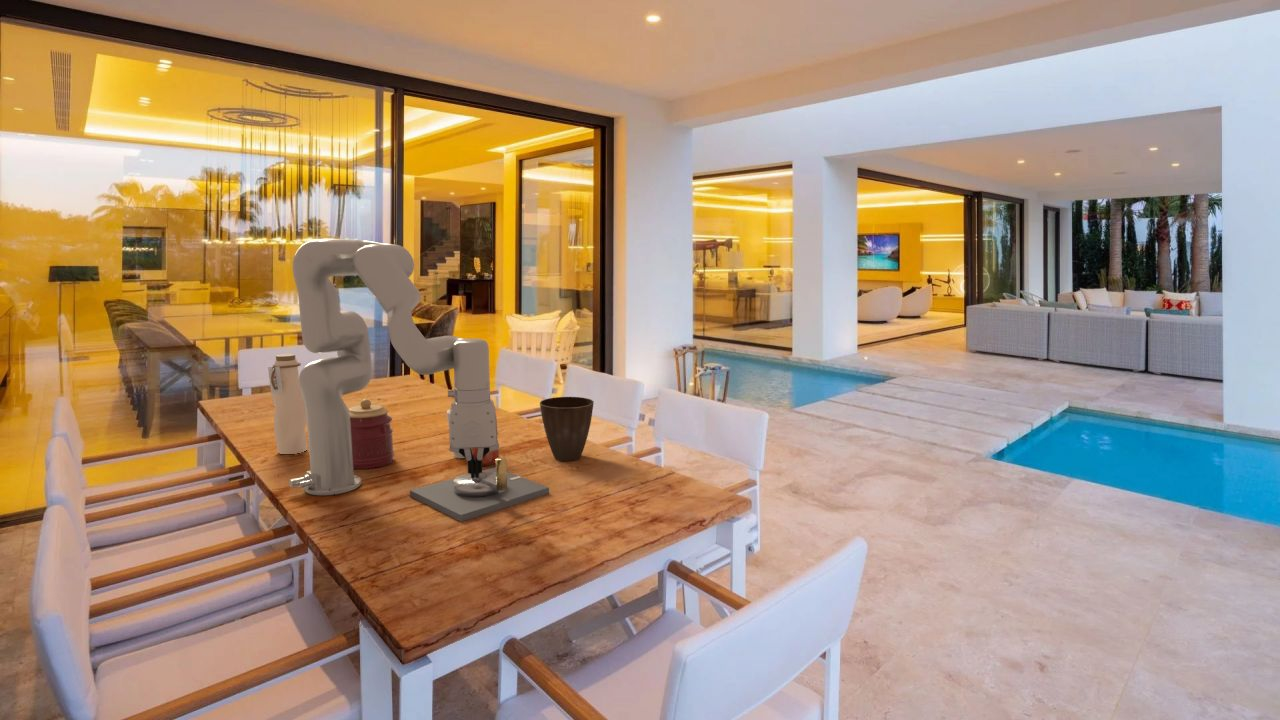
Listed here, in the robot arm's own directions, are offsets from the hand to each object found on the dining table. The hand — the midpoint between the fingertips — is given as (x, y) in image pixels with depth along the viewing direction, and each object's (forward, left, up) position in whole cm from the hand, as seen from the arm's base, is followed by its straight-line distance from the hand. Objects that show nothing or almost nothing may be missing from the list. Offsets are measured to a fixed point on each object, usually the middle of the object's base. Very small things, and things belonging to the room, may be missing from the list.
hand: (475, 475), depth 151 cm
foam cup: (+20, +37, -8) cm, 43 cm away
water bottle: (-13, +75, -8) cm, 76 cm away
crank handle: (+6, +5, -6) cm, 9 cm away
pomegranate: (+19, +26, -8) cm, 33 cm away
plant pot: (+39, +15, -8) cm, 43 cm away
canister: (-2, +50, -8) cm, 51 cm away
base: (+5, +7, -8) cm, 12 cm away
